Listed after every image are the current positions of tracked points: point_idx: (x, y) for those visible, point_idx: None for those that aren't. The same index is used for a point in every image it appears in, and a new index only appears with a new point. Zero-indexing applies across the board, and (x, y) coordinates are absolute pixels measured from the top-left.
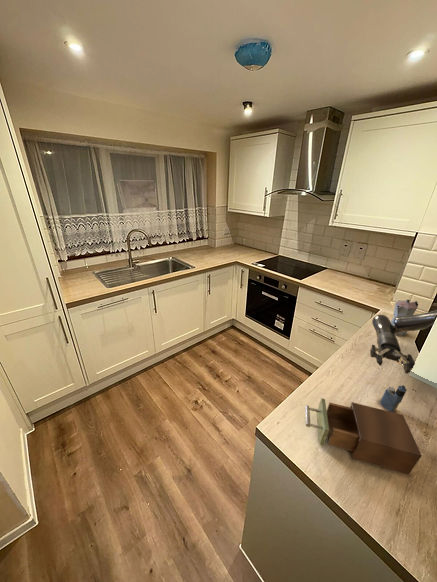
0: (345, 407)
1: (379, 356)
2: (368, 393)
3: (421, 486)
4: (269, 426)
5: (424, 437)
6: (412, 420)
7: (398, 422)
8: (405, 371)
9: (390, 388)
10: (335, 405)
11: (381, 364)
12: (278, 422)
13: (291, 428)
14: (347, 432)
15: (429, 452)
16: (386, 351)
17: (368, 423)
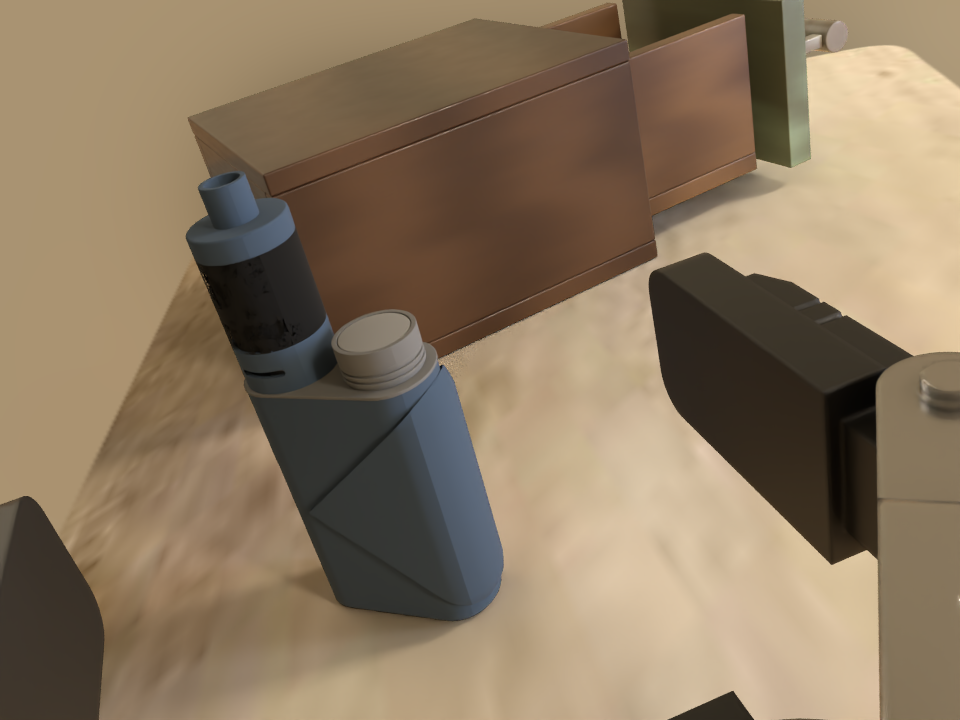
0: (643, 48)
1: (871, 381)
2: (676, 598)
3: (206, 303)
4: (886, 55)
5: (98, 546)
6: (163, 636)
7: (298, 132)
8: (86, 626)
9: (391, 326)
10: (699, 26)
11: (662, 346)
12: (884, 75)
13: (816, 97)
14: (548, 25)
15: (102, 465)
16: (900, 685)
17: (470, 50)
